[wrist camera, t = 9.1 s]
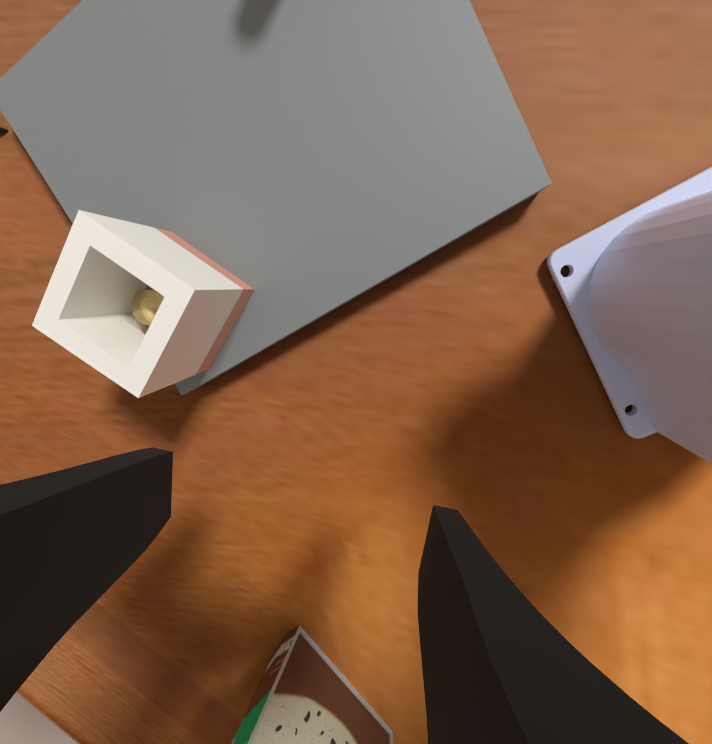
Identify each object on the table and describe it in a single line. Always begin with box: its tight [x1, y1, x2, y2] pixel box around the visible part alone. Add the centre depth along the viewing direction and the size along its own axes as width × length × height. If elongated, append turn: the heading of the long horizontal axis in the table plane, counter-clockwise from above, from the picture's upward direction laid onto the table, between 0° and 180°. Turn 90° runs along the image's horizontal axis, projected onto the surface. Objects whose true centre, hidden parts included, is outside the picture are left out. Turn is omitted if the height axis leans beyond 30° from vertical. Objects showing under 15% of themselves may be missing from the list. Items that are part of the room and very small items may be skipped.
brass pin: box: [131, 290, 164, 326], centre depth 16 cm, size 1×1×3 cm
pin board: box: [0, 0, 552, 395], centre depth 17 cm, size 16×19×2 cm
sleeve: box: [32, 210, 254, 398], centre depth 15 cm, size 5×5×5 cm
